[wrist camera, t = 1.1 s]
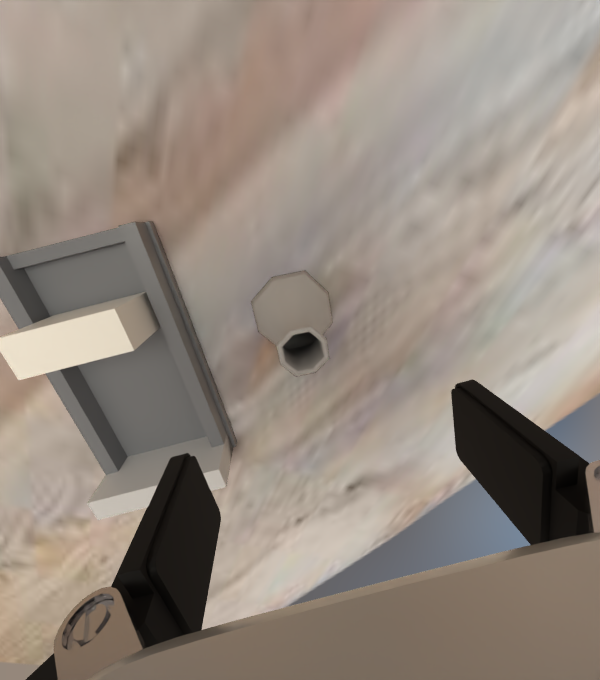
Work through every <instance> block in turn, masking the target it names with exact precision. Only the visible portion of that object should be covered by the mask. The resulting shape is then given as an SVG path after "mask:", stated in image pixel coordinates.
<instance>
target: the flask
mask: <svg viewBox="0 0 600 680" xmlns="http://www.w3.org/2000/svg"><path fill="white" fill-rule="evenodd" d="M251 304H252V308H253V312H254V316H255V320H256V324H257V328H258V332H259V333H261V334H262V335H263V336H264V337H266V338H267V339H268V340H269V341H271V342H272V343H273V344H274V345H276V346H277V351H278V355H279V359H280V363H281V365H282V366H283V367H284V368H285V369H287V370H288V371H289V372H291V373H292V374H293V375H294V376H296V377H298V376H302V375H307V374H312V373H316V372H317V371H318V370H319V369H320V368H321V367H322V366H323V365H324V364H325V363H326V362H327V361H328V360H329V359H330V358H329V352H328V346H327V340H326V338H325V337H324V336H323V334H324V333H325V331H326V330H327V329H328V328H329V327H330V325H331V324H332V323H333V320H332V314H331V308H330V301H329V295H328V292H327V291H326V290H325V289H324V288H323V287H322V286H321V285H320V284H319V283H318V282H317V281H315V280H314V279H313V278H312V277H311V276H310V275H309V274H308V273H307V272H306V271H305V270H304V271H299V272H295V273H290V274H285V275H280V276H275V277H272V278H271V279H270V280H269V281H268V282H267V284H266V285H265V286H264V287H263V288H262V289H261V291H260V292H259V293H258V294H257V295H256V296H255V297H254V299H253V300H252V301H251Z"/></svg>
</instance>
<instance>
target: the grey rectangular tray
mask: <svg viewBox="0 0 600 680" xmlns="http://www.w3.org/2000/svg"><path fill="white" fill-rule="evenodd" d="M118 227H119V228H115V229H111V230H107V231H103V232H99V233H96V234H92V235H88V236H84V237H80V238H76V239H72V240H68V241H64V242H60V243H56V244H53V245H49V246H45V247H41V248H37V249H33V250H29V251H25V252H21V253H17V254H13V255H10V256H5V257H0V298H1V300H2V302H3V303H4V305H5V307H6V308H7V310H8V312H9V313H10V315H11V317H12V318H13V320H14V322H15V323H16V325H17V327H18V328H19V329H21V328H23V327H26V326H28V325H31V324H33V323H36V322H38V321H41V320H43V319H46V318H48V317H51V316H53V315H57V314H61V313H64V312H68V311H72V310H76V309H80V308H84V307H88V306H92V305H96V304H100V303H103V302H107V301H111V300H115V299H119V298H123V297H127V296H131V295H135V294H139V293H142V292H146V293H147V296H148V298H149V300H150V303H151V305H152V307H153V310H154V312H155V314H156V317H157V319H158V322H159V324H160V326H161V327H160V328H159V329H158V330H157V331H155V332H154V333H153V334H152V335H151V336H150V337H149V338H148V339H147V340H145V341H144V342H143V343H142V344H141V345H140V346H139V347H138V348H137V349H135V350H134V351H131V352H127V353H123V354H119V355H115V356H111V357H107V358H103V359H100V360H96V361H92V362H88V363H84V364H80V365H76V366H72V367H68V368H65V369H61V370H57V371H53V372H49V373H45V374H46V375H47V377H48V379H49V380H50V382H51V384H52V385H53V387H54V389H55V390H56V392H57V394H58V395H59V397H60V399H61V400H62V402H63V404H64V405H65V407H66V409H67V410H68V412H69V414H70V416H71V417H72V419H73V421H74V422H75V424H76V426H77V427H78V429H79V431H80V432H81V434H82V436H83V437H84V439H85V441H86V442H87V444H88V446H89V447H90V449H91V451H92V452H93V454H94V456H95V457H96V459H97V461H98V462H99V464H100V466H101V467H102V469H103V471H104V472H105V474H106V476H105V477H104V479H103V480H102V482H101V483H100V485H99V486H98V488H97V489H96V490H95V492H94V493H93V495H92V496H91V498H90V499H89V501H88V502H87V504H88V506H89V507H90V509H91V510H92V512H93V513H94V515H95V516H96V518H97V520H100V519H104V518H108V517H112V516H116V515H120V514H124V513H128V512H131V511H135V510H139V509H143V508H147V507H148V506H149V504H150V501H151V499H152V497H153V495H154V493H155V490H156V488H157V486H158V484H159V482H160V479H161V477H162V475H163V473H164V471H165V468H166V466H167V464H168V462H169V460H170V458H171V457H174V456H178V455H182V454H185V453H189V454H190V455H191V456H195V457H196V459H197V461H198V463H199V465H200V468H201V470H202V472H203V474H204V477H205V479H206V481H207V484H208V486H209V488H210V490H211V491H213V490H217V489H221V488H224V487H226V486H227V480H228V474H229V468H230V463H231V457H232V451H233V447H235V446H236V443H237V440H236V438H235V435H234V433H233V430H232V427H231V425H230V422H229V420H228V417H227V414H226V412H225V409H224V406H223V404H222V401H221V399H220V396H219V393H218V391H217V388H216V386H215V383H214V380H213V378H212V375H211V373H210V370H209V367H208V365H207V362H206V359H205V357H204V354H203V352H202V349H201V346H200V344H199V341H198V339H197V336H196V333H195V331H194V328H193V326H192V323H191V320H190V318H189V315H188V312H187V310H186V307H185V305H184V302H183V299H182V297H181V294H180V292H179V289H178V286H177V284H176V281H175V279H174V276H173V273H172V271H171V268H170V265H169V263H168V260H167V258H166V255H165V252H164V250H163V247H162V245H161V242H160V239H159V237H158V234H157V232H156V229H155V226H154V224H153V222H151V221H148V222H132V223H128V224H124V225H120V226H118Z"/></svg>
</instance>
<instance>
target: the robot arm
mask: <svg viewBox="0 0 600 680" xmlns="http://www.w3.org/2000/svg"><path fill="white" fill-rule="evenodd" d="M451 394H452V406H453V418H454V431H455V443H456V451H457V454H458V457H459V458H460V460H461V461H462V462H463V464H464V465H465V466H466V467H467V468H468V470H469V471H470V472H471V473H472V474H473V476H474V477H475V478H476V479H477V480H478V482H479V483H480V484H481V485H482V487H483V488H484V489H485V490H486V491H487V493H488V494H489V495H490V496H491V497H492V499H493V500H494V501H495V502H496V503H497V504H498V505H499V507H500V508H501V509H502V510H503V512H504V513H505V514H506V515H507V517H508V518H509V519H510V520H511V521H512V523H513V524H514V525H515V526H516V527H517V529H518V530H519V531H520V532H521V533H522V535H523V536H524V537H525V538H526V539H527V541H528V542H529V543H530V544H531V545H530V546H525V547H521V548H517V549H512V550H508V551H504V552H500V553H496V554H492V555H488V556H484V557H480V558H476V559H472V560H468V561H464V562H460V563H456V564H452V565H448V566H444V567H440V568H436V569H432V570H428V571H424V572H420V573H416V574H413V575H408V576H405V577H401V578H397V579H393V580H389V581H385V582H381V583H377V584H373V585H370V586H366V587H362V588H358V589H354V590H350V591H346V592H342V593H339V594H335V595H331V596H327V597H323V598H319V599H315V600H312V601H308V602H304V603H301V604H297V605H293V606H289V607H285V608H281V609H278V610H274V611H270V612H266V613H262V614H259V615H255V616H251V617H247V618H244V619H240V620H236V621H232V622H229V623H225V624H222V625H218V626H215V627H211V628H208V629H204V630H201V629H202V623H203V617H204V612H205V606H206V601H207V595H208V589H209V584H210V578H211V573H212V567H213V561H214V556H215V550H216V545H217V539H218V533H219V528H220V522H221V516H220V511H219V508H218V506H217V504H216V502H215V499H214V497H213V495H212V493H211V490H210V488H209V486H208V484H207V481H206V479H205V477H204V474H203V472H202V470H201V468H200V465H199V463H198V461H197V459H196V457H195V456H191V455H190V454H189V453H185V454H182V455H178V456H174V457H171V458H170V460H169V462H168V464H167V466H166V468H165V471H164V473H163V475H162V477H161V479H160V482H159V484H158V486H157V488H156V490H155V493H154V495H153V497H152V499H151V501H150V504H149V506H148V508H147V509H146V511H145V514H144V516H143V518H142V520H141V522H140V525H139V527H138V529H137V531H136V533H135V536H134V538H133V540H132V542H131V544H130V547H129V549H128V551H127V553H126V555H125V558H124V560H123V562H122V564H121V566H120V568H119V571H118V573H117V575H116V577H115V579H114V582H113V584H112V586H111V587H105V588H101V589H99V590H97V591H95V592H93V593H91V594H90V595H88V596H87V597H86V598H84V599H83V600H82V601H81V602H80V603H79V604H77V605H76V606H75V607H74V608H73V610H72V611H71V612H70V613H69V614H68V616H67V617H66V618H65V620H64V621H63V623H62V625H61V626H60V628H59V630H58V632H57V635H56V638H55V640H54V654H53V655H51V656H50V657H49V658H48V659H47V660H46V661H45V662H44V663H43V664H42V665H41V666H40V667H39V668H38V669H37V670H35V671H34V672H33V673H32V674H31V675H30V676H29V677H28V678H27V679H26V680H600V460H598V461H595V462H592V463H590V464H589V463H588V462H587V461H585V460H584V459H582V458H581V457H580V456H579V455H577V454H576V453H574V452H573V451H572V450H570V449H569V448H568V447H566V446H564V445H563V444H562V443H561V442H559V441H558V440H557V439H555V438H554V437H552V436H551V435H550V434H548V433H547V432H545V431H544V430H543V429H541V428H540V427H539V426H537V425H536V424H534V423H533V422H532V421H530V420H529V419H528V418H526V417H525V416H523V415H522V414H521V413H519V412H518V411H517V410H515V409H514V408H512V407H511V406H510V405H508V404H507V403H506V402H504V401H503V400H501V399H500V398H499V397H497V396H496V395H494V394H493V393H492V392H490V391H489V390H488V389H486V388H485V387H483V386H482V385H481V384H479V383H478V382H477V381H475V380H469V381H466V382H462V383H458V384H456V386H455V389H452V392H451Z"/></svg>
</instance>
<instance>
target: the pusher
mask: <svg viewBox="0 0 600 680" xmlns="http://www.w3.org/2000/svg"><path fill="white" fill-rule="evenodd" d="M160 327H161V326H160V324H159V322H158V319H157V317H156V314H155V312H154V310H153V307H152V305H151V303H150V300H149V298H148V296H147V293H146V292H142V293H139V294H135V295H131V296H127V297H123V298H119V299H115V300H111V301H107V302H103V303H100V304H96V305H92V306H88V307H84V308H80V309H76V310H72V311H68V312H64V313H61V314H57V315H53V316H51V317H48V318H46V319H43V320H41V321H38V322H36V323H33V324H31V325H28V326H26V327H23V328H21V329H18V330H16V331H13V332H11V333H8V334H6V335H3V336H1V337H0V352H1V353H2V355H3V356H4V358H5V359H6V361H7V363H8V364H9V366H10V367H11V369H12V370H13V372H14V374H15V375H16V377H17V378H18V380H22V379H26V378H29V377H33V376H37V375H41V374H45V373H49V372H53V371H57V370H61V369H65V368H68V367H72V366H76V365H80V364H84V363H88V362H92V361H96V360H100V359H103V358H107V357H111V356H115V355H119V354H123V353H127V352H131V351H134V350H135V349H137V348H138V347H139V346H140V345H141V344H142V343H143V342H144V341H145V340H147V339H148V338H149V337H150V336H151V335H152V334H153V333H154V332H155V331H157V330H158V329H159V328H160Z"/></svg>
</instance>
